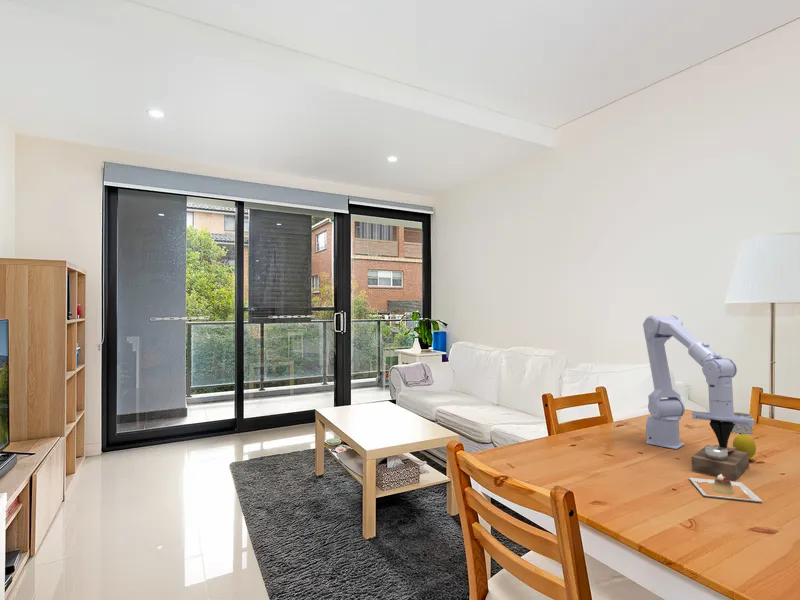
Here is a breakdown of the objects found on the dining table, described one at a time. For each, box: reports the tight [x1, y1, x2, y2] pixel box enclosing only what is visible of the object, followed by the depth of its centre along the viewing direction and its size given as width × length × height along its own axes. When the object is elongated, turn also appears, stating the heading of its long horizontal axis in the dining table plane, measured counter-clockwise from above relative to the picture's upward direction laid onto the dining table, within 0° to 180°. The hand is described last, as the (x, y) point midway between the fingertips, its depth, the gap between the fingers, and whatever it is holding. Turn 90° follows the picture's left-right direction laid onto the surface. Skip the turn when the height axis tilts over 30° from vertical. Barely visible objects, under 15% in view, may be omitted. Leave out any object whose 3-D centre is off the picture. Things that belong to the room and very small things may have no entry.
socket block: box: [691, 444, 750, 482], centre depth 125 cm, size 10×16×4 cm, turn 131°
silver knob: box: [704, 445, 728, 461], centre depth 122 cm, size 5×5×6 cm
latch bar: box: [713, 443, 735, 452], centre depth 127 cm, size 8×4×1 cm, turn 131°
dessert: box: [688, 474, 763, 503], centre depth 109 cm, size 12×12×5 cm
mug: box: [726, 411, 753, 435], centre depth 163 cm, size 10×7×7 cm
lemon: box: [732, 434, 757, 459], centre depth 132 cm, size 6×6×8 cm
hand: (723, 447), depth 126 cm, fingers closed, pressing on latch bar
